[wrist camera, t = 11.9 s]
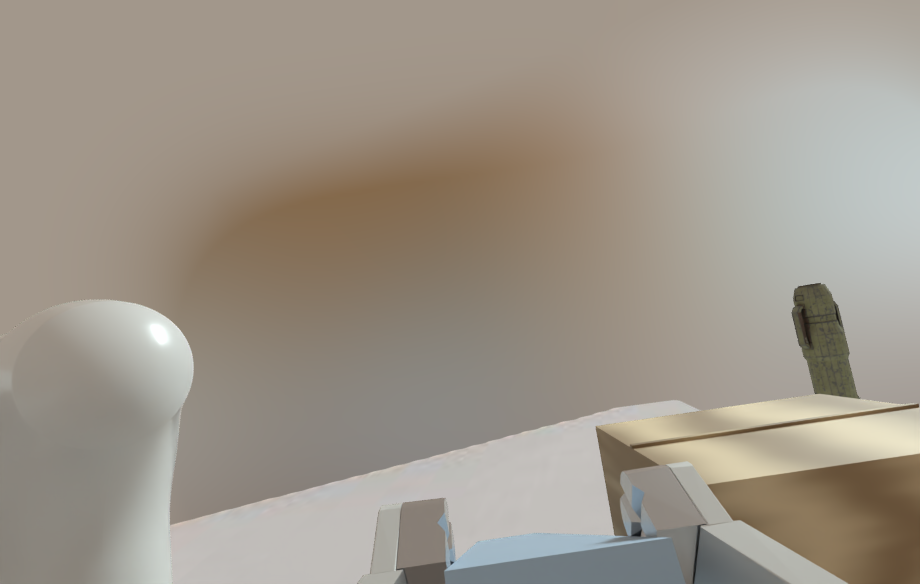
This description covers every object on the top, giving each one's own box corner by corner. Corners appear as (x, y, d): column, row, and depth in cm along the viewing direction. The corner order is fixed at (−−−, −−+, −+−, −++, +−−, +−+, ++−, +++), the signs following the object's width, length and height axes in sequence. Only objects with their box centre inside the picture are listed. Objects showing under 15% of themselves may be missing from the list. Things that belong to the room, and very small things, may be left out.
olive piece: (806, 431, 109) (774, 290, 113) (841, 422, 112) (808, 285, 116) (846, 437, 100) (809, 284, 105) (882, 427, 104) (845, 279, 108)
